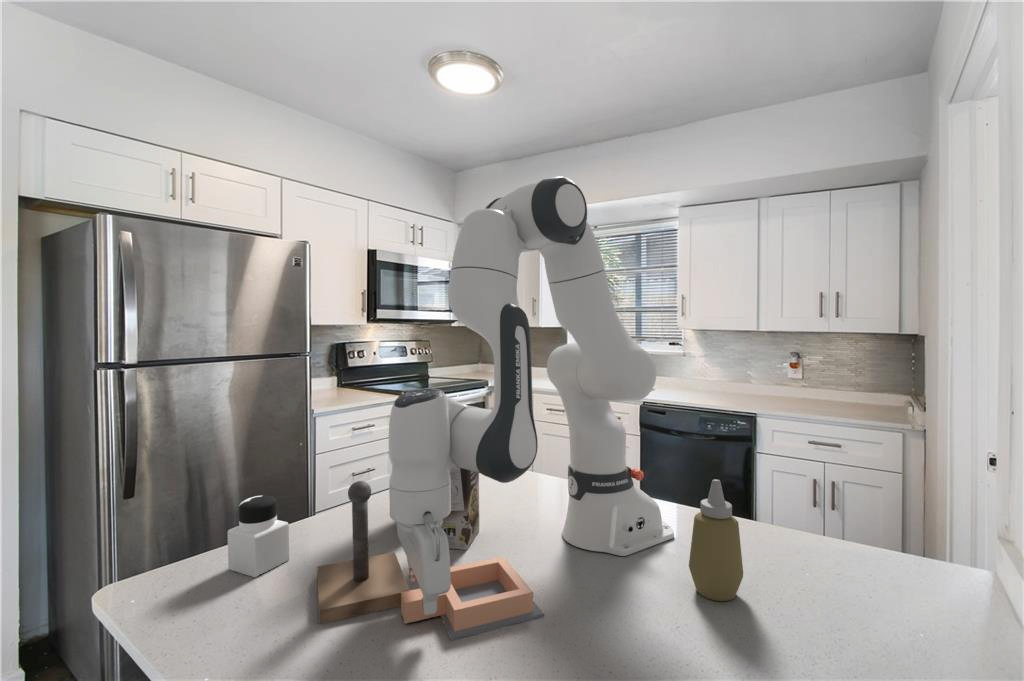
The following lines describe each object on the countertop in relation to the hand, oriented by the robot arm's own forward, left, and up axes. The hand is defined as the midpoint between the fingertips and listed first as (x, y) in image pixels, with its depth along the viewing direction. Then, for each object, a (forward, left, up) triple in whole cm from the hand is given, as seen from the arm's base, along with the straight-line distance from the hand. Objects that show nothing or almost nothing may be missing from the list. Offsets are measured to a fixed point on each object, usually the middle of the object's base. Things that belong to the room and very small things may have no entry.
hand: (421, 594), depth 73 cm
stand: (+8, -11, -3) cm, 14 cm away
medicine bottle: (+24, -27, -4) cm, 36 cm away
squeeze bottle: (-44, +12, -4) cm, 46 cm away
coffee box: (-12, -23, -4) cm, 26 cm away
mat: (-9, 0, -3) cm, 10 cm away
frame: (-6, 0, -3) cm, 7 cm away
